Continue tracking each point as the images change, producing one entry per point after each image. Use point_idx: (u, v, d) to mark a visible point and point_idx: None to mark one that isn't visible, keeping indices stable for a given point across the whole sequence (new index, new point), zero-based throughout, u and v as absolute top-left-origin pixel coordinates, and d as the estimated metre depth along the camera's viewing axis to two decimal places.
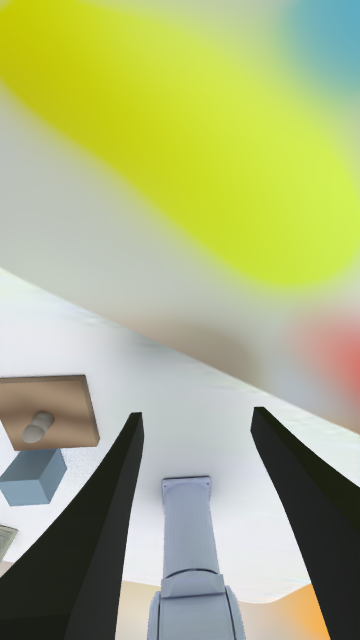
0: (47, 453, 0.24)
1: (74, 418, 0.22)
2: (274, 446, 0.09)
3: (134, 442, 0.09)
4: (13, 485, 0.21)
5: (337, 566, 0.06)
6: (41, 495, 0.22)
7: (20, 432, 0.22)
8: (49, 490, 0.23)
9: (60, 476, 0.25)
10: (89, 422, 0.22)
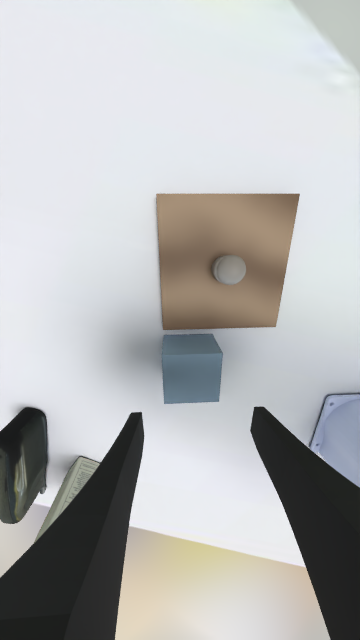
0: (204, 337, 0.17)
1: (263, 271, 0.15)
2: (274, 446, 0.09)
3: (134, 442, 0.09)
4: (183, 363, 0.14)
5: (337, 566, 0.06)
6: (214, 385, 0.15)
7: (181, 296, 0.15)
8: None
9: None
10: (281, 281, 0.15)
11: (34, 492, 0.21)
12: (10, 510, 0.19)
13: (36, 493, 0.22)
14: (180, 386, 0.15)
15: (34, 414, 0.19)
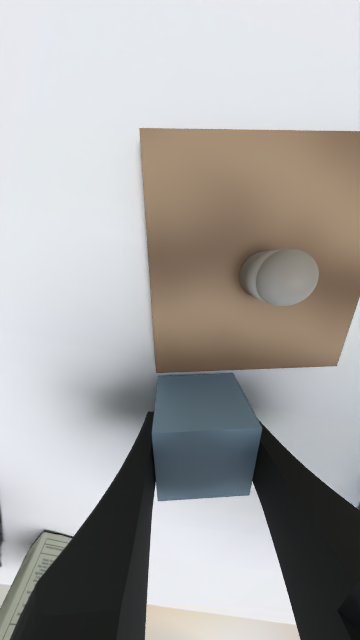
0: (221, 383, 0.11)
1: (328, 278, 0.09)
2: None
3: None
4: (191, 444, 0.08)
5: (306, 568, 0.06)
6: (244, 473, 0.09)
7: (186, 320, 0.09)
8: None
9: None
10: (355, 294, 0.09)
11: None
12: None
13: None
14: (185, 477, 0.09)
15: None
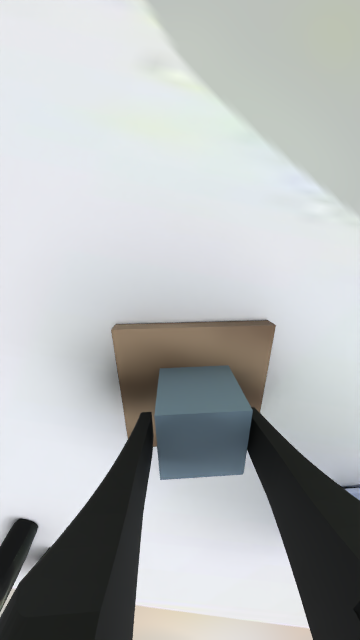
0: (218, 373, 0.12)
1: None
2: (262, 447, 0.09)
3: (146, 442, 0.09)
4: (189, 426, 0.09)
5: (319, 568, 0.06)
6: (238, 453, 0.10)
7: None
8: None
9: None
10: (258, 401, 0.14)
11: None
12: None
13: None
14: (185, 456, 0.10)
15: (28, 530, 0.19)
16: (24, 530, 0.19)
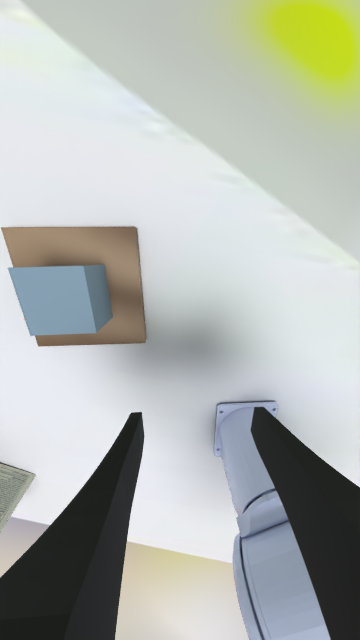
0: None
1: (119, 293, 0.16)
2: (274, 446, 0.09)
3: (134, 442, 0.09)
4: (38, 279, 0.12)
5: (337, 566, 0.06)
6: (85, 310, 0.13)
7: None
8: (96, 311, 0.14)
9: (107, 315, 0.16)
10: (139, 302, 0.17)
11: None
12: None
13: None
14: (43, 311, 0.13)
15: None
16: None
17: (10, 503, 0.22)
